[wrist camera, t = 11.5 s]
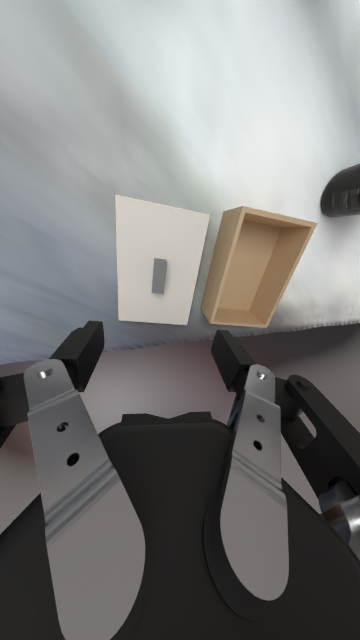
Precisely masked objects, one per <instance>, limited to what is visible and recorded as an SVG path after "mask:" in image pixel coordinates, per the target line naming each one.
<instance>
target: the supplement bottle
mask: <svg viewBox="0 0 360 640" xmlns="http://www.w3.org/2000/svg"><path fill="white" fill-rule="evenodd" d="M321 205H322V210H323V212H324V213H325V214H326V215H327V216H330V217H339V216H350V215H360V164H357V165H355V166H352V167H349V168H346V169H344V170H342V171H340V172H339V173H338V174H336V175H335V176H334V177H333V178H332V179H331V181H330V182H329V183H328V185H327V186H326V188H325V190H324V193H323V196H322V202H321Z"/></svg>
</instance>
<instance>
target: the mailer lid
mask: <svg viewBox="0 0 360 640" xmlns="http://www.w3.org/2000/svg"><path fill="white" fill-rule="evenodd" d="M115 199H116V235H117V272H118V309H119V320H121V321H135V322H149V323H163V324H177V325H187V323H188V318H189V314H190V309H191V304H192V299H193V294H194V290H195V285H196V280H197V275H198V270H199V266H200V261H201V256H202V251H203V246H204V242H205V237H206V232H207V227H208V222H209V218H210V215H209V214H204V213H199V212H195V211H190V210H185V209H181V208H176V207H171V206H167V205H162V204H157V203H152V202H148V201H143V200H138V199H134V198H129V197H124V196H119V195H115Z"/></svg>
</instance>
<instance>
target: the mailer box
mask: <svg viewBox="0 0 360 640" xmlns="http://www.w3.org/2000/svg"><path fill="white" fill-rule="evenodd" d="M316 225H317V223H314V222H310V221H305V220H301V219H297V218H292V217H288V216H284V215H279V214H275V213H271V212H266V211H262V210H257V209H253V208H249V207H244V206H242V207H238V208H235V209H231V210H227V211H224V212H223V216H222V220H221V224H220V228H219V232H218V237H217V241H216V245H215V249H214V254H213V258H212V262H211V266H210V270H209V275H208V279H207V283H206V287H205V291H204V296H203V300H202V304H201V309H202V311H203V313H204V315H205V316H206V318H207V320H208V321H209V323H210V324H221V325H235V326H248V327H262V328H267V326H268V324H269V322H270V320H271V318H272V316H273V314H274V312H275V310H276V308H277V306H278V304H279V301H280V299H281V297H282V295H283V293H284V291H285V289H286V287H287V285H288V283H289V281H290V279H291V277H292V275H293V273H294V271H295V268H296V266H297V264H298V262H299V260H300V258H301V256H302V254H303V252H304V250H305V248H306V246H307V244H308V242H309V240H310V237H311V235H312V233H313V231H314V229H315V227H316Z"/></svg>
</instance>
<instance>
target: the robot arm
mask: <svg viewBox="0 0 360 640" xmlns="http://www.w3.org/2000/svg"><path fill="white" fill-rule="evenodd" d="M103 348H104V330H103V323H102V321H88V322H87V324H86V325H85V326H84V328H78V329H76V330H74V331H73V332H71V333H70V335H69V336H68V337H67V338H66V339H65V340H64V342H63V343H62V344H61V345H60V346H59V348H58V349H57V350H56V351H55V352H54V353H53V355H52V356H51V357H50V358H49V359H48V360H43V361H40V362H38V363H35V364H34V365H32V366H31V367H29V368H28V369H27V370H26V371H25V373H21V374H16V375H11V376H5V377H0V448H1V447H2V445H3V443H4V442H5V441H6V439H7V437H8V436H9V434H10V433H11V431H12V430H13V428H14V427H15V425H16V424H18V423H22V422H25V421H28V422H29V428H30V434H31V439H32V445H33V450H34V457H35V463H36V468H37V475H38V480H39V486H40V492H41V493H40V494H39V495H38V496H37V497H36V498H35V499H34V500H33V501H32V502H31V503H30V504H29V505H28V507H26V508H25V510H23V512H22V513H21V514H20V515H19V516H18V517H17V518H16V519H15V520H14V521H13V522H12V523H11V524H10V525H9V526H8V527H7V528H6V529H5V530H4V531H3V532H2V533H1V534H0V640H360V433H359V432H358V431H357V430H356V429H355V428H354V427H353V426H352V425H351V424H350V423H349V422H348V420H347V419H346V418H345V417H344V416H343V415H342V414H341V413H340V412H339V411H338V410H337V409H336V408H335V407H334V406H333V405H332V404H331V403H330V402H329V400H328V399H327V398H326V397H325V396H324V395H323V394H322V393H321V392H320V391H319V390H318V389H317V388H316V387H315V386H314V385H313V384H312V383H311V382H310V381H308V380H307V379H305V378H303V377H301V376H298V375H290V376H289V378H288V379H287V380H284V379H280V378H276V377H275V376H274V375H273V373H272V372H271V371H270V370H268V369H267V368H265V367H263V366H261V365H257V364H256V363H255V361H254V360H253V359H252V357H251V356H250V355H249V353H248V352H246V349H245V348H244V347H243V345H242V344H241V343H240V341H238V340H237V339H236V338H234V337H232V335H231V334H230V332H229V331H228V330H217V331H216V334H215V337H214V340H213V344H212V347H211V352H212V356H213V358H214V360H215V362H216V364H217V367H218V369H219V372H220V374H221V376H222V379H223V381H224V383H225V385H226V388H227V390H228V391H229V392H236V396H235V399H234V402H233V406H232V409H231V412H230V416H229V419H228V422H227V425H225V424H223V423H221V422H219V421H217V420H214V419H212V417H211V413H210V412H190V413H187V414H183V415H180V416H177V417H174V418H170V419H167V418H162V417H158V416H154V415H150V414H123V416H122V421H121V422H120V423H117V424H115V425H112V426H110V427H108V428H107V429H105V430H103V431H102V432H100V433H99V434H97V431H96V429H95V427H94V425H93V423H92V421H91V418H90V416H89V414H88V412H87V410H86V408H85V405H84V403H83V401H82V399H81V397H80V394H79V392H84V390H85V388H86V386H87V384H88V382H89V379H90V377H91V375H92V373H93V371H94V369H95V366H96V364H97V362H98V360H99V358H100V355H101V353H102V351H103ZM302 412H304V413H305V414H306V416H307V417H308V418H309V420H310V421H311V422H312V424H313V425H314V427H315V428H316V432H317V435H316V437H315V438H314V437H313V435H312V434H311V433H310V431H309V430H308V428H307V427H306V426H305V424H304V423H303V421H302V420H301V418H300V417H299V415H300V414H301V413H302ZM281 433H282V435H283V437H284V439H285V440H286V442H287V444H288V446H289V448H290V450H291V451H292V453H293V455H294V457H295V458H296V460H297V462H298V464H299V466H300V467H301V469H302V471H303V473H304V475H305V476H306V478H307V480H308V482H309V483H310V485H311V487H312V489H313V491H314V492H315V494H316V496H317V498H318V500H319V506H320V509H321V512H322V513H321V514H318V513H317V512H316V511H315V510H314V509H313V508H312V507H311V506H310V505H309V504H308V503H307V502H306V501H305V500H304V499H303V498H302V497H301V496H300V495H299V494H298V493H297V492H296V491H295V490H294V489H293V488H292V487H291V486H290V485H289V484H288V483H287V482H286V481H285V480H283V478H281Z"/></svg>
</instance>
